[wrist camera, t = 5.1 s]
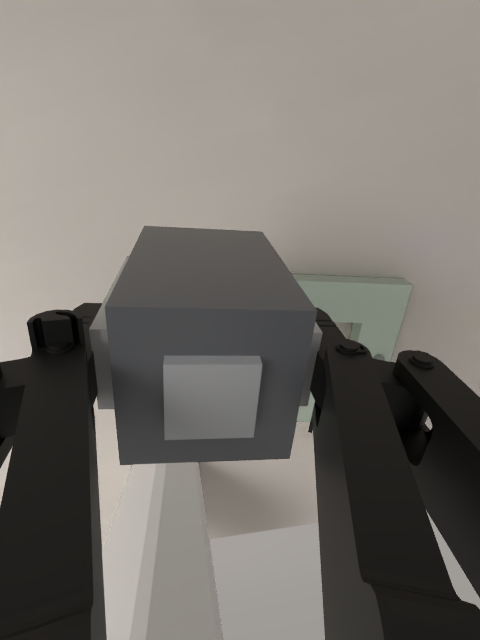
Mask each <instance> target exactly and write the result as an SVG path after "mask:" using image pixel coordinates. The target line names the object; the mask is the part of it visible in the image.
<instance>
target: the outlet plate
mask: <svg viewBox="0 0 480 640" xmlns="http://www.w3.org/2000/svg"><path fill="white" fill-rule="evenodd" d="M292 275H293V277H294V278H295V280H296V281H297V282H298V284H299V285H300V287H301V288H302V290H303V291H304V292H305V294H306V295H307V297H308V298H309V300H310V301H311V302H312V304H313V305H314V307H315V308H319V309H321V310H323V311H324V312H326V313H327V314H328V315H329V316H330V318H331V319H332V321H333V322H340V323H353V325H352V329H351V334H350V338H349V340H353V341H356V342H358V343H361V344H363V345H364V346H365V347H367V348H368V349H369V351H370V352H371V355H372V358H374V359H378V360H383V361H389V362H390V360H391V357H392V354H393V350H394V347H395V344H396V340H397V337H398V334H399V330H400V327H401V324H402V320H403V317H404V313H405V310H406V307H407V303H408V300H409V297H410V293H411V290H412V287H413V285H412V284H410V283H409V282H407V281H406V280H405V279H403V278H378V277H354V276H329V275H304V274H292ZM314 403H315V400H314V398H313V396H312V393H311V392H310V397H309V402H308V406H299V411H298V416H297V421H311V417H312V412H313V407H314Z"/></svg>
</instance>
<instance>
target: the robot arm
mask: <svg viewBox="0 0 480 640" xmlns="http://www.w3.org/2000/svg"><path fill="white" fill-rule="evenodd" d="M128 258H129V256H127V257H126V259H125V261H124V263H123V265H122V267H121V269H120V271H119V273H118V275H117V277H116V279H115V280H114V282H113V284H112V286H111V288H110V290H109V292H108V294H107V296H106V298H105V300H104V302H103V303H84V304H82V305H80V306H78V307H77V308H75V309H74V310H73V311H71V310H52V311H46V312H42V313H39V314H36V315H35V316H33V317H31V318H30V319H29V320H28V322H27V326H28V331H29V336H30V341H31V346H32V354H31V357H28V358H23V359H19V360H12V361H6V362H0V468H1V466H2V464H3V462H4V461H5V459H6V457H7V455H8V453H9V451H10V450H11V448H12V452H11V457H10V462H9V467H8V472H7V477H6V482H5V487H4V492H3V497H2V502H1V506H0V640H107V635H106V616H105V598H104V580H103V561H102V543H101V524H100V506H99V488H98V469H97V451H96V433H95V416H94V408H93V404H94V402H95V399H96V396H97V401H98V409H115V408H114V397H113V387H112V377H111V366H110V356H109V346H108V336H107V325H106V315H105V305H106V303H107V301H108V299H109V297H110V295H111V293H112V291H113V289H114V287H115V285H116V283H117V281H118V279H119V277H120V275H121V273H122V271H123V269H124V266H125V264H126V262H127V260H128ZM316 310H317V316H316V321H315V326H314V332H313V337H312V342H311V348H310V353H309V358H308V363H307V369H306V374H305V379H304V385H303V390H302V395H301V401H300V406H308V402H309V397H310V392H311V393H312V396H313V398H314V400H315V403H314V407H313V412H312V417H311V422H310V426H309V431H308V432H311V433H312V430H313V436H314V453H315V471H316V488H317V506H318V523H319V540H320V556H321V557H320V558H321V575H322V592H323V609H324V627H325V640H480V609H479V608H478V607H477V606H476V605H474V604H471V603H468V602H465V601H462V600H461V599H460V598H459V597H458V596H457V594H456V592H455V590H454V588H453V586H452V583H451V581H450V578H449V575H448V572H447V569H446V566H445V563H444V560H443V558H442V555H441V552H440V549H439V546H438V543H437V541H436V538H435V535H434V532H433V529H432V526H431V523H430V520H429V518H428V515H427V512H428V513H429V515H430V517H431V518H432V520H433V522H434V523H435V525H436V527H437V528H438V530H439V532H440V533H441V535H442V536H443V538H444V540H445V541H446V543H447V545H448V546H449V548H450V549H451V551H452V553H453V555H454V556H455V558H456V560H457V561H458V563H459V564H460V566H461V568H462V569H463V571H464V573H465V574H466V576H467V578H468V579H469V581H470V583H471V584H472V586H473V588H474V589H475V591H476V593H477V594H478V596H479V597H480V397H479V396H477V395H476V394H475V393H474V392H473V391H472V390H471V389H470V388H469V387H468V386H467V385H466V384H465V383H464V382H463V381H462V380H460V379H459V378H458V377H457V376H456V375H455V374H454V373H453V372H452V371H451V370H450V369H449V368H448V367H447V366H446V365H444V364H443V363H442V362H441V361H440V360H438V359H437V358H435V357H433V356H431V355H429V354H428V353H425V352H422V351H412V350H407V351H402V352H400V353H399V354H398V357H397V361H396V363H394V362H389V361H383V360H378V359H374V358H372V355H371V352H370V351H369V349H368V348H367V347H365V346H364V345H363V344H361V343H358V342H356V341H353V340H349V339H346V338H345V336H344V335H343V334H342V332H341V331H340V330H339V328H338V327H336V324H335V323H334V322H333V321H332V319H331V318H330V316H329V315H328V314H327V313H326V312H324V311H323V310H321V309H319V308H316ZM428 416H429V418H430V419H431V422H432V429H431V430H430V429H429V428H428V427H427V426H426V424H425V422H426V419H427V417H428ZM12 446H13V447H12ZM425 508H426V509H425ZM426 510H427V512H426Z"/></svg>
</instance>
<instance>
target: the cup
mask: <svg viewBox="0 0 480 640" xmlns="http://www.w3.org/2000/svg"><path fill="white" fill-rule="evenodd" d="M102 561H103V580H104V598H105V616H106V635H107V640H223V633H222V626H221V619H220V611H219V605H218V597H217V591H216V583H215V576H214V569H213V562H212V555H211V548H210V541H209V534H208V526H207V519H206V512H205V505H204V498H203V491H202V484H201V477H200V470H199V463H198V462H186V463H159V464H133V466H132V467H131V469H130V472H129V475H128V478H127V481H126V484H125V487H124V490H123V492H122V495H121V498H120V501H119V504H118V507H117V510H116V512H115V515H114V518H113V521H112V524H111V527H110V530H109V532H108V535H107V538H106V541H105V544H104V547H103V550H102Z"/></svg>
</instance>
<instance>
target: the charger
mask: <svg viewBox="0 0 480 640" xmlns="http://www.w3.org/2000/svg"><path fill="white" fill-rule="evenodd" d="M105 315H106V325H107V336H108V346H109V356H110V366H111V377H112V387H113V397H114V408H115V418H116V428H117V439H118V449H119V459H120V465H133V464H159V463H186V462H212V461H238V460H265V459H290V453H291V448H292V443H293V438H294V432H295V427H296V422H297V416H298V411H299V406H300V401H301V395H302V390H303V385H304V379H305V374H306V369H307V363H308V358H309V353H310V348H311V342H312V337H313V332H314V326H315V321H316V316H317V310H316V308H315V307H314V305H313V304H312V302H311V301H310V300H309V298H308V297H307V295H306V294H305V292H304V291H303V290H302V288H301V287H300V285H299V284H298V282H297V281H296V280H295V278H294V277H293V275H292V274H291V272H290V271H289V270H288V268H287V267H286V265H285V264H284V262H283V261H282V260H281V258H280V257H279V255H278V254H277V252H276V251H275V250H274V248H273V247H272V245H271V244H270V242H269V241H268V240H267V238H266V237H265V235H264V234H263V232H257V231H237V230H217V229H196V228H176V227H156V226H144V228H143V230H142V232H141V234H140V236H139V238H138V240H137V242H136V244H135V246H134V248H133V250H132V252H131V254H130V256H129V258H128V260H127V262H126V264H125V266H124V269H123V271H122V273H121V275H120V277H119V279H118V281H117V283H116V285H115V287H114V289H113V291H112V293H111V295H110V297H109V299H108V301H107V303H106V305H105Z"/></svg>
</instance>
